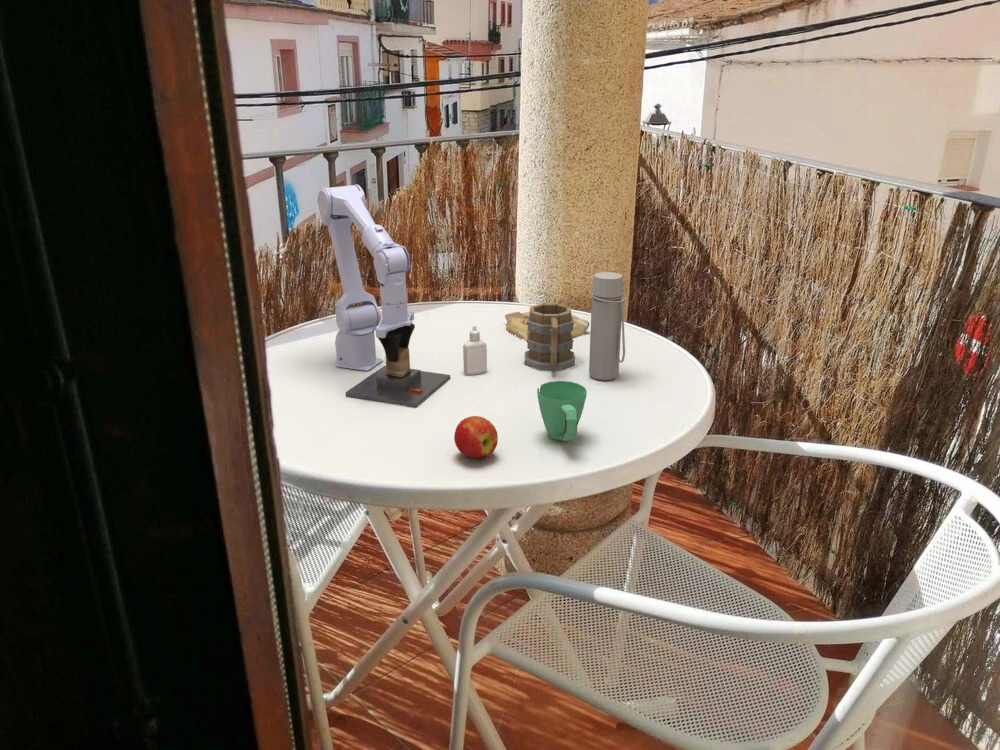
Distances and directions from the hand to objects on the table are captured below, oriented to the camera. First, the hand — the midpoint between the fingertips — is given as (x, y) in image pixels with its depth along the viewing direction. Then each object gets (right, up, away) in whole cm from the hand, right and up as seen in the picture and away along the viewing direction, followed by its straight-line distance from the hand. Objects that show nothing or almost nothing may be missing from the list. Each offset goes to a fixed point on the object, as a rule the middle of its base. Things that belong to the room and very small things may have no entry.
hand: (397, 357), depth 176 cm
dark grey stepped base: (0, -7, +3) cm, 7 cm away
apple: (+19, -20, -29) cm, 40 cm away
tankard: (+36, -2, +15) cm, 39 cm away
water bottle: (+49, -5, +8) cm, 50 cm away
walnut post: (0, -4, +1) cm, 4 cm away
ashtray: (+37, +9, +42) cm, 57 cm away
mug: (+36, -17, -23) cm, 47 cm away
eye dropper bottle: (+18, -4, +11) cm, 21 cm away
